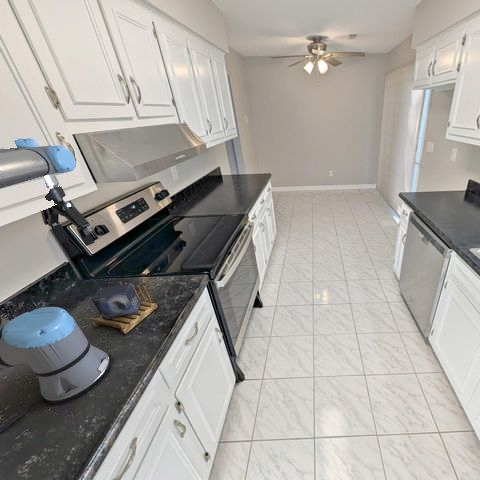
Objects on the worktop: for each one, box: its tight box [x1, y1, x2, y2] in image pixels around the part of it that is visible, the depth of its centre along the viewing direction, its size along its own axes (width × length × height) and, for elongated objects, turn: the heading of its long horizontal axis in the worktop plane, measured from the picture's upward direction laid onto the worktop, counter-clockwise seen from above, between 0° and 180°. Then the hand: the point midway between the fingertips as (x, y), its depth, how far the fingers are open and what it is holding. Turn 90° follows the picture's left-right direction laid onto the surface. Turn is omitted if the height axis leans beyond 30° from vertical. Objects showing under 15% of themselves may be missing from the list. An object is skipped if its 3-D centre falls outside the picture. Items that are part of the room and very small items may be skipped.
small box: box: [91, 282, 142, 320], centre depth 93 cm, size 11×6×10 cm, turn 105°
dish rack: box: [89, 281, 158, 335], centre depth 94 cm, size 14×15×11 cm
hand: (77, 242), depth 96 cm, fingers open, 13 cm apart
